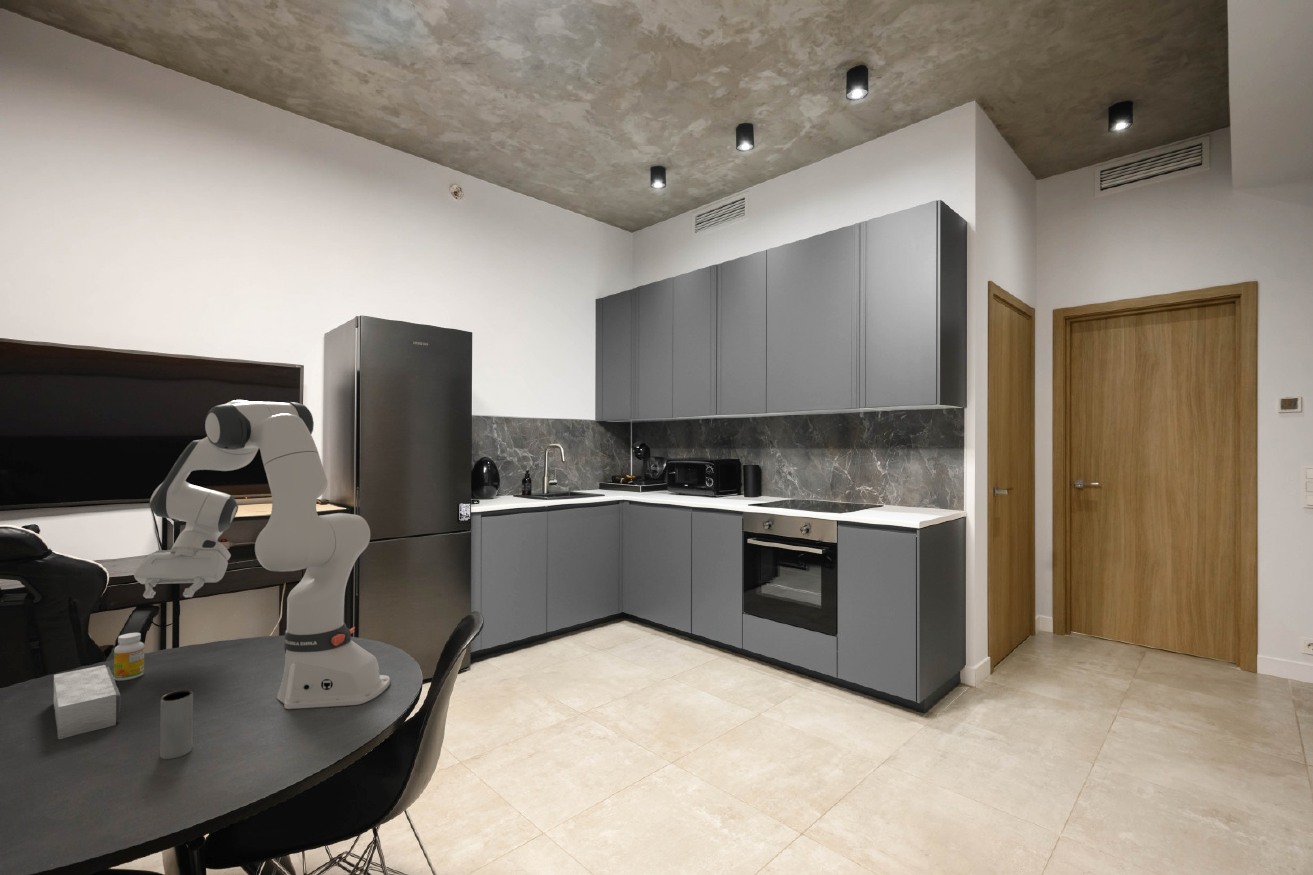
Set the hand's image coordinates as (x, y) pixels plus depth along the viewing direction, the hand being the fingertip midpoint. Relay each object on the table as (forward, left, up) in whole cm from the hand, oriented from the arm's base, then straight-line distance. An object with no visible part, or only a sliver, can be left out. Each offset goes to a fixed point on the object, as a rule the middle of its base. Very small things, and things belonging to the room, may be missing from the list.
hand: (167, 596), depth 153 cm
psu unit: (-8, +30, -16) cm, 35 cm away
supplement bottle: (0, +11, -16) cm, 19 cm away
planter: (-39, +44, -16) cm, 61 cm away
